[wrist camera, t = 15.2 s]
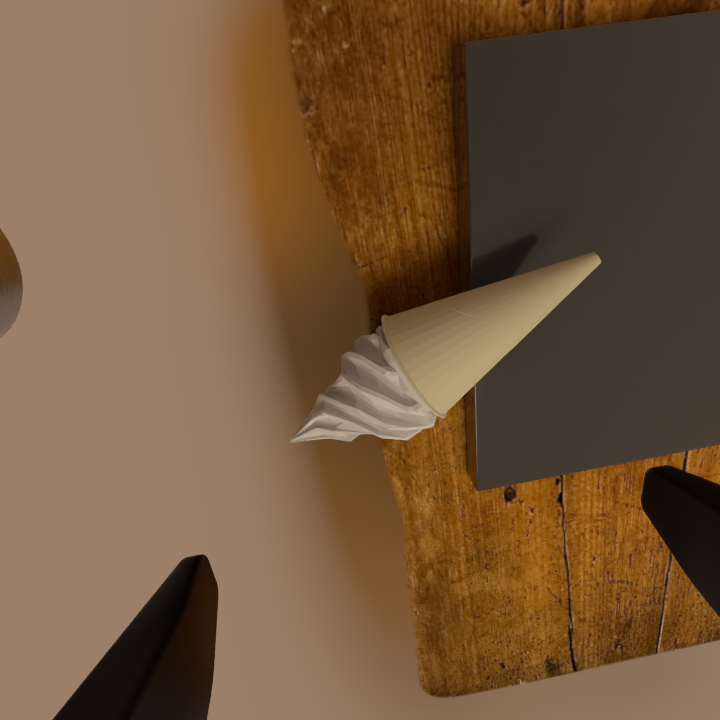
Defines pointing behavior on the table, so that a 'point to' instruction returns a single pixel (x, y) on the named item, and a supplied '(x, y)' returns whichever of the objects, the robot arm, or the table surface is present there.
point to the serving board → (594, 240)
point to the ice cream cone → (435, 355)
